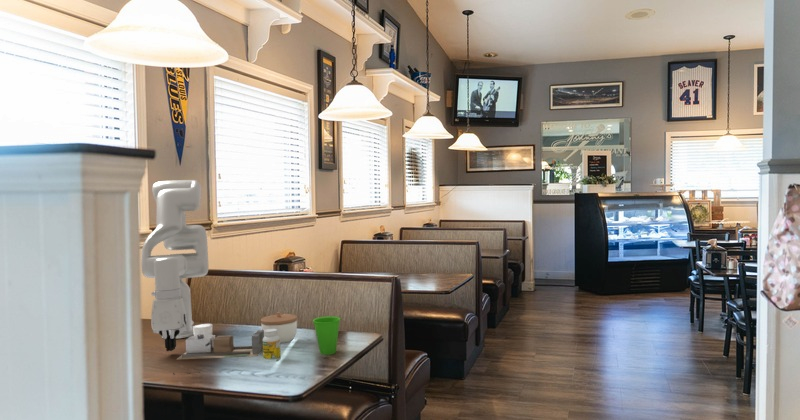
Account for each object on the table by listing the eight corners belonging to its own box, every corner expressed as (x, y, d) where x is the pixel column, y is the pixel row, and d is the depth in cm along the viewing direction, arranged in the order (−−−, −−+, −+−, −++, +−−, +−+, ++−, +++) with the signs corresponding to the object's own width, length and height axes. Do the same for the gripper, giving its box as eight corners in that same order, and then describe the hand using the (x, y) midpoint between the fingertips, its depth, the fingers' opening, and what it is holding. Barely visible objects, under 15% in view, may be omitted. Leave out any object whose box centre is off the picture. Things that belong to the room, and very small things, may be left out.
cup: (324, 347, 189) (322, 315, 189) (347, 350, 185) (345, 317, 185) (308, 355, 181) (307, 321, 181) (332, 357, 177) (330, 323, 177)
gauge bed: (190, 352, 190) (189, 331, 190) (266, 349, 190) (265, 328, 190) (176, 363, 178) (174, 340, 178) (257, 359, 178) (256, 337, 178)
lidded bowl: (255, 343, 199) (254, 312, 198) (287, 336, 207) (285, 307, 207) (272, 350, 189) (271, 317, 189) (304, 342, 197) (303, 311, 197)
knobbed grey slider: (192, 350, 186) (191, 333, 186) (215, 349, 186) (215, 332, 186) (183, 357, 179) (182, 339, 179) (208, 356, 179) (207, 338, 179)
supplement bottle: (284, 358, 179) (282, 328, 178) (275, 363, 174) (274, 332, 173) (269, 357, 180) (267, 327, 180) (260, 362, 175) (258, 331, 175)
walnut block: (218, 350, 186) (218, 335, 186) (233, 350, 186) (233, 335, 186) (213, 354, 181) (213, 339, 181) (229, 354, 181) (228, 338, 181)
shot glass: (207, 347, 196) (206, 327, 196) (189, 347, 197) (188, 327, 197) (217, 342, 203) (216, 323, 203) (200, 342, 204) (199, 323, 204)
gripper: (140, 297, 180) (143, 354, 180) (186, 295, 180) (189, 352, 180) (150, 293, 187) (153, 347, 188) (194, 291, 187) (197, 346, 188)
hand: (170, 349), depth 184 cm, fingers closed
